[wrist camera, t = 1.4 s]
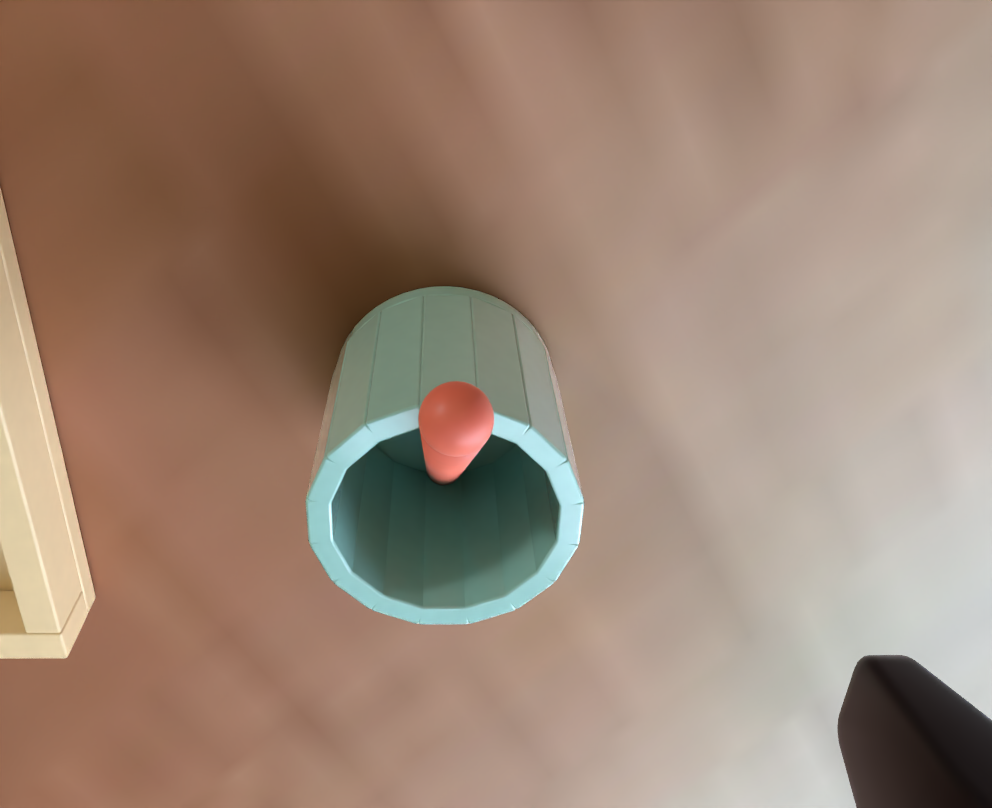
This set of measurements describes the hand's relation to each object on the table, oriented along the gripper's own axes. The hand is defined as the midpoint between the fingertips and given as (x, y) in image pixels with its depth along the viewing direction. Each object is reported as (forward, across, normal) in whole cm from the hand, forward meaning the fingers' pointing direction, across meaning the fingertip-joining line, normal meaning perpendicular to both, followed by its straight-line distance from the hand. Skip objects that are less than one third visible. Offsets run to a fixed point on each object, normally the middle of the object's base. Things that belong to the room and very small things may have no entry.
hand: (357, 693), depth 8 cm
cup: (+12, -1, +4) cm, 13 cm away
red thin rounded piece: (+7, -1, +2) cm, 7 cm away
